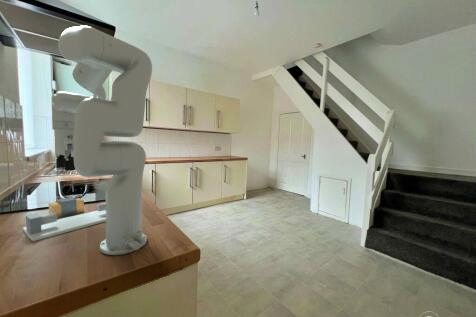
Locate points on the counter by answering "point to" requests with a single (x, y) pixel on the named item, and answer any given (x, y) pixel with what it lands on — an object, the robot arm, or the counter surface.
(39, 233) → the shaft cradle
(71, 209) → the block
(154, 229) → the counter surface
